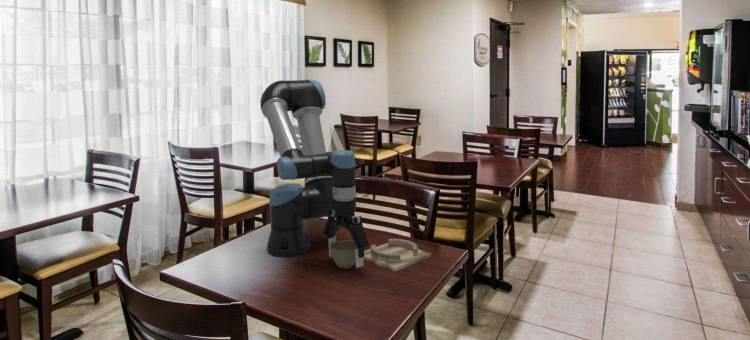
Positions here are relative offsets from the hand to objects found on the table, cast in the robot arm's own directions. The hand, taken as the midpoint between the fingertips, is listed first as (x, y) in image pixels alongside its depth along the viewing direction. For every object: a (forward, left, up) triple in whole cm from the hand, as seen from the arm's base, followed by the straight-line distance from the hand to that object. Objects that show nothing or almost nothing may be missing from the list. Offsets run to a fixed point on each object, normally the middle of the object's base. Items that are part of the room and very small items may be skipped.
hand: (345, 261), depth 163 cm
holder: (+6, +17, -2) cm, 18 cm away
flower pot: (0, 0, -2) cm, 2 cm away
